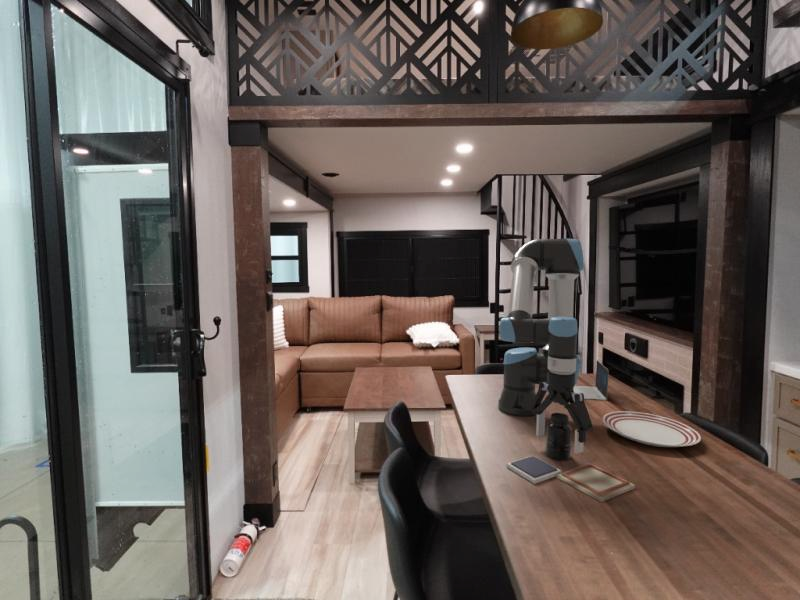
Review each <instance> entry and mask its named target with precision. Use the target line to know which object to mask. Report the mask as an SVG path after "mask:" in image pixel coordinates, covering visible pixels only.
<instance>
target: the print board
mask: <svg viewBox="0 0 800 600" xmlns="http://www.w3.org/2000/svg"><path fill="white" fill-rule="evenodd" d="M556 478H557V479H558V480H561V481H562V482H564V483H566V484H568V485H569V486H571V487H573V488H575V489H577V490H579V491H580V492H582V493H584V494H586V495H588V496H590V497H591V498H593V499H595V500H596V501H598V502H600V503H604V502H605V501H608V500H610V499H612V498H615V497H617V496H619V495H622V494H624V493H627V492H629V491H631V490H634V489H636V485H635V484H634V483H632V482H630V481H628V479H627V480H626V479H624V478H622V477H620V476H618V475H617V474H614V473H613V472H610V471H607V470H606V469H603V468H601V467H599V466H597V465H595V464H593V463H591V462H589V463H588V462H587V463H585V464H583V465H580V466H578V467H574V468H572V469H569V470H566V471H562V473H560V474H557V476H556Z"/></svg>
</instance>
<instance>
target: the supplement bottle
mask: <svg viewBox="0 0 800 600" xmlns="http://www.w3.org/2000/svg"><path fill="white" fill-rule="evenodd" d="M569 423H570V421H569V416H568V414H566V413H561V412H552V413H551V414H550V421H549V423H548V424H547V426H546V432H545V434H546V435H545V437H546V438H545V454H546V455H547V457H549V458H551V459H553V460H557V461H567V460H569V459H570V458H571V454H572V453H571V452H572V451H571V450H572V437H573V436H572V434H573V432H572V431H573V429H572V426H570V425H569Z"/></svg>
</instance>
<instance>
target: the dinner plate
mask: <svg viewBox="0 0 800 600" xmlns="http://www.w3.org/2000/svg"><path fill="white" fill-rule="evenodd" d="M602 422H603V424H604V425H605V426H606V427H607V428H609V429H610V430H611V431H613V432H614V433H616V434H617V435H620V436H622V437H623V438H627V439H628V440H630V441H633V442H635V441H636V443H639V444H643V445H646V446H650V445H651V447H658V448H680V447H691V446H695V445H697V444H698V443H700V442H701V440H702V437H701V435H700V433H699V432H698V431H696V430H695V429H694V428H692V427H690V426H689V425H686V424H684V423H682V422H680V421H678V420H675V419H672V418H670V417H665V416H661V415H658V414H657V415H656V414H653V413H646V412H639V411H627V410H626V411H622V410H620V411H611V412H608V413H606V414H604V415H603V417H602Z"/></svg>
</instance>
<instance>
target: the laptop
mask: <svg viewBox="0 0 800 600" xmlns="http://www.w3.org/2000/svg"><path fill="white" fill-rule="evenodd" d="M595 367H596V369H595V386H589V385H588V386H586V385H575V386H574V388H573V390H574V393H578V394H579V393H583V394H584V400H589V399H596V400H595V401H602V400H608V392H609V389H608V388H609V374H610V373H609V371H610V370H609V369H608V368H607V367H606V366H604V364H602V362H600V361H599V360H598V359H596V365H595Z"/></svg>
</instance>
